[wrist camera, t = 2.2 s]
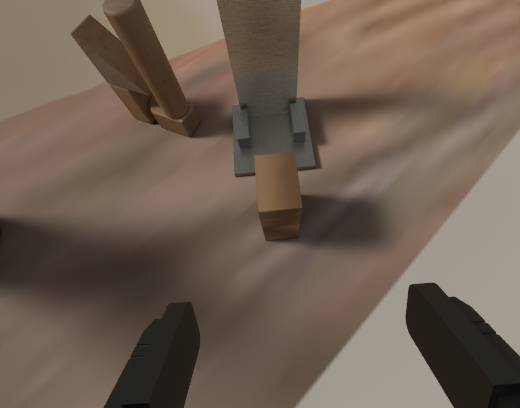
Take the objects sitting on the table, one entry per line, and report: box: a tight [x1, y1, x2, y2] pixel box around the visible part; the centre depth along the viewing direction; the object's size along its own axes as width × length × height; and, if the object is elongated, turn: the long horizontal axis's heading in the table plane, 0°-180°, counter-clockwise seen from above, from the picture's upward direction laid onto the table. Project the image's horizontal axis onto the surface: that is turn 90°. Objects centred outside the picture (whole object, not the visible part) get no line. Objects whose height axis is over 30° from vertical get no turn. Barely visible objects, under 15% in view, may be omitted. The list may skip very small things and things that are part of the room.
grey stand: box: [217, 0, 316, 177], centre depth 30 cm, size 11×13×21 cm
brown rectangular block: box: [254, 151, 303, 241], centre depth 30 cm, size 4×6×10 cm, turn 4°
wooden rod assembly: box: [71, 0, 201, 137], centre depth 34 cm, size 4×11×18 cm, turn 66°
